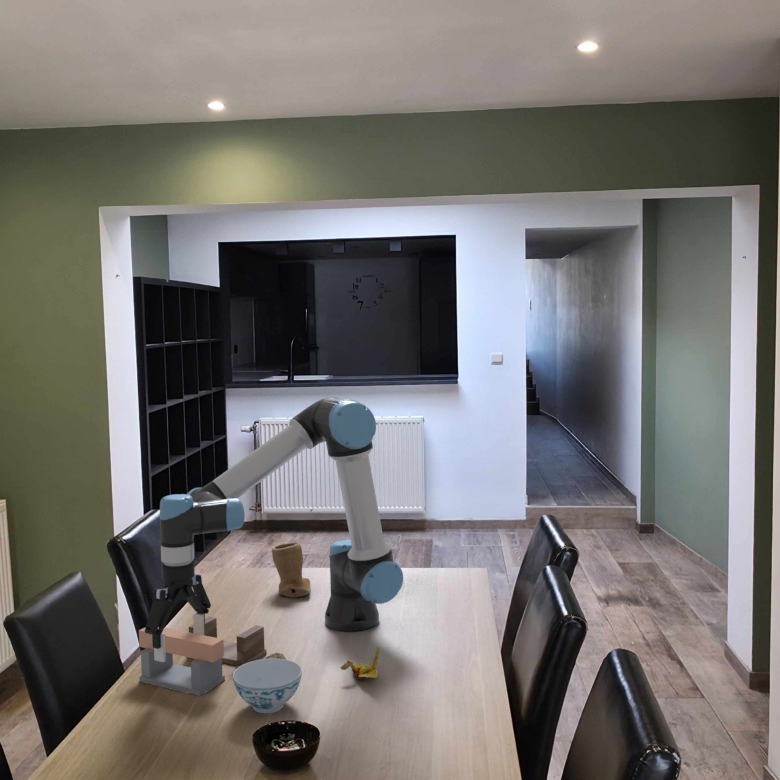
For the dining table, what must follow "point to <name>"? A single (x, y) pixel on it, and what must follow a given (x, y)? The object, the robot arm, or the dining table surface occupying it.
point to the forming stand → (180, 673)
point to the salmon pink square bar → (187, 644)
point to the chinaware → (267, 683)
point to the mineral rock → (276, 656)
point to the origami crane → (363, 668)
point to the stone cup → (290, 569)
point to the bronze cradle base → (238, 643)
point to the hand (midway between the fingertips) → (180, 650)
